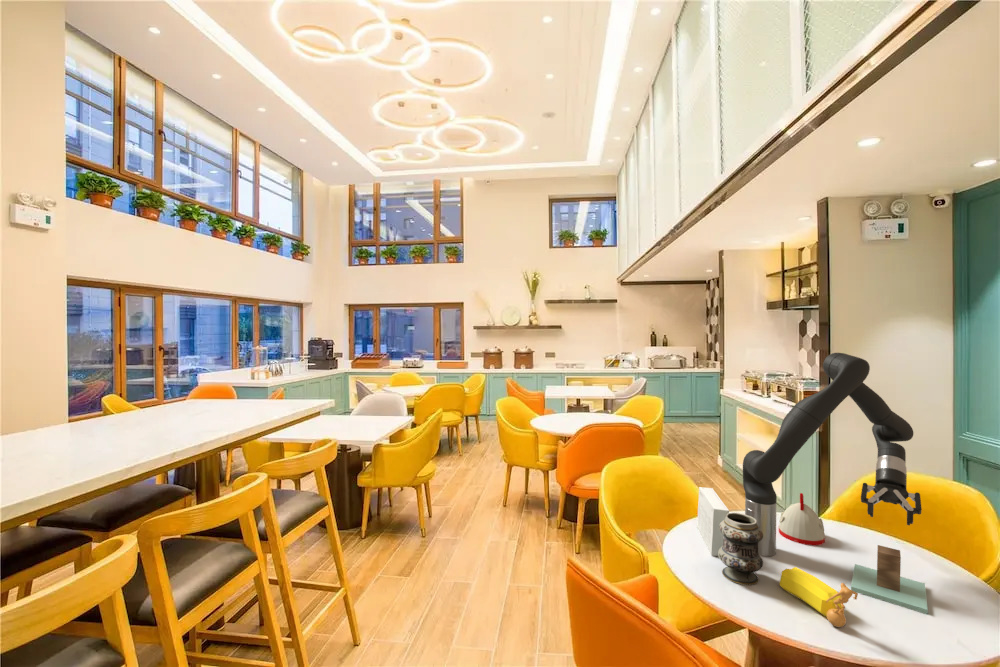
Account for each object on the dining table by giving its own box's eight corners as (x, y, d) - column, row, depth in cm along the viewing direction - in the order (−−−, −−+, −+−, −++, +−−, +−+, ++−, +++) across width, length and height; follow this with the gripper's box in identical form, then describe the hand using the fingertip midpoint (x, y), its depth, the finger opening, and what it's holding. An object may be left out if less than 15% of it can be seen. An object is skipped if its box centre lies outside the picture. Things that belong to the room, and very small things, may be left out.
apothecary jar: (767, 575, 137) (768, 517, 137) (757, 593, 128) (757, 531, 128) (724, 561, 145) (725, 506, 145) (712, 576, 136) (713, 518, 136)
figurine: (843, 618, 117) (844, 573, 117) (865, 634, 111) (866, 587, 111) (815, 621, 116) (815, 576, 116) (835, 637, 110) (836, 589, 110)
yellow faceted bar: (791, 581, 134) (771, 585, 132) (792, 559, 134) (771, 562, 132) (853, 619, 117) (831, 624, 115) (854, 594, 117) (831, 599, 115)
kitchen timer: (823, 533, 164) (823, 492, 164) (826, 549, 153) (827, 505, 152) (778, 524, 172) (779, 485, 171) (778, 538, 160) (779, 497, 160)
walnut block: (876, 585, 130) (877, 551, 129) (876, 577, 133) (877, 544, 133) (899, 592, 126) (900, 557, 126) (899, 584, 130) (900, 550, 130)
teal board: (851, 590, 129) (851, 586, 129) (854, 567, 141) (854, 563, 141) (927, 614, 119) (927, 609, 119) (924, 587, 131) (924, 583, 131)
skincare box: (729, 558, 147) (729, 510, 147) (711, 556, 148) (711, 509, 148) (712, 529, 168) (712, 487, 167) (696, 527, 169) (697, 486, 169)
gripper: (862, 462, 148) (859, 507, 140) (921, 472, 139) (922, 521, 130) (863, 474, 152) (860, 518, 144) (920, 484, 143) (921, 532, 134)
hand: (889, 519), depth 137 cm, fingers open, 8 cm apart
